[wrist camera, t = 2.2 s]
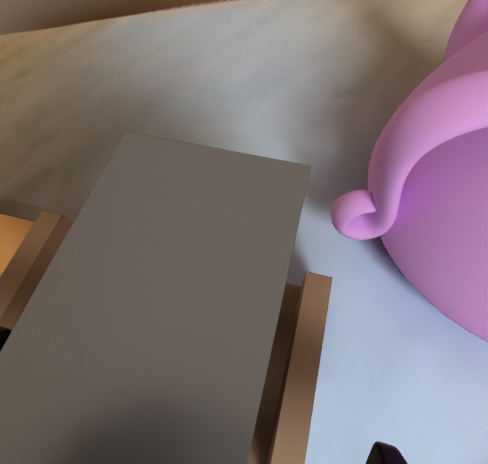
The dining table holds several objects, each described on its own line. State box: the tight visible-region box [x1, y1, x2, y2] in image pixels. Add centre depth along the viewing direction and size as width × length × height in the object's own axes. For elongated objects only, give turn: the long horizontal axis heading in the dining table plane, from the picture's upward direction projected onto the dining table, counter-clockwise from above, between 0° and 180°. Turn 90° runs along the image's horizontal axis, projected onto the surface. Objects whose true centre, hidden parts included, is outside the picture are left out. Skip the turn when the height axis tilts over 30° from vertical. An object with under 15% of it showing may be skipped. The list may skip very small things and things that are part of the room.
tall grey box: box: [0, 131, 311, 464], centre depth 11 cm, size 6×4×12 cm, turn 165°
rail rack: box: [0, 210, 332, 464], centre depth 16 cm, size 12×23×4 cm, turn 75°
